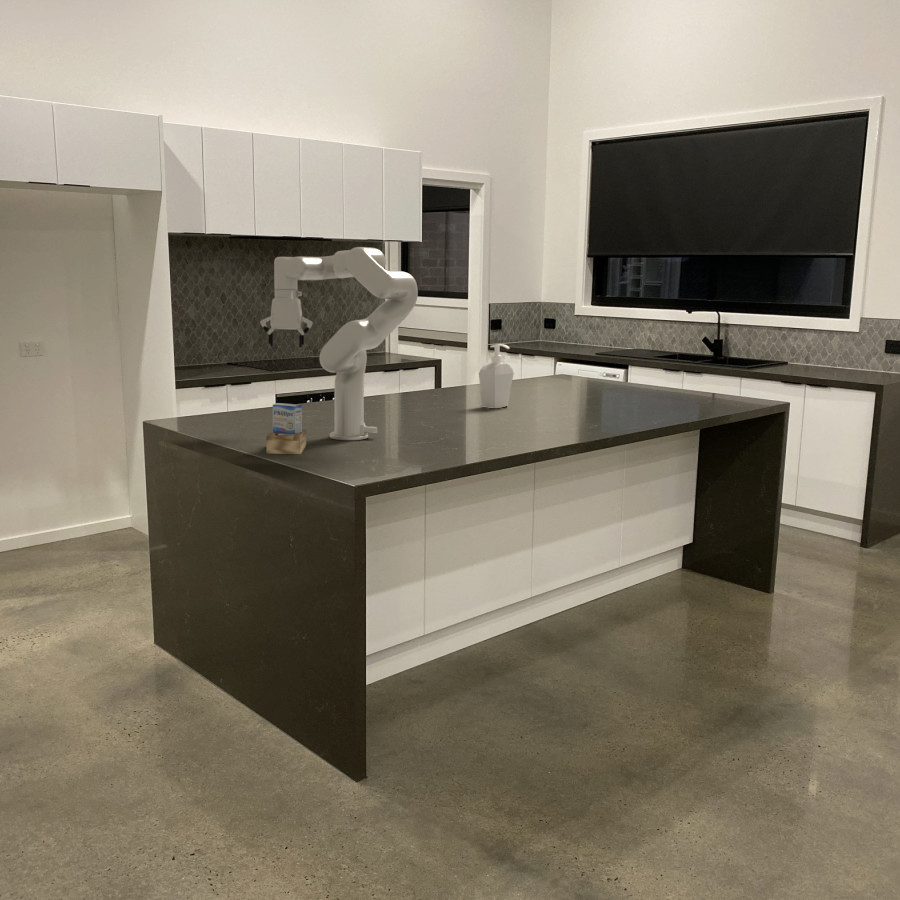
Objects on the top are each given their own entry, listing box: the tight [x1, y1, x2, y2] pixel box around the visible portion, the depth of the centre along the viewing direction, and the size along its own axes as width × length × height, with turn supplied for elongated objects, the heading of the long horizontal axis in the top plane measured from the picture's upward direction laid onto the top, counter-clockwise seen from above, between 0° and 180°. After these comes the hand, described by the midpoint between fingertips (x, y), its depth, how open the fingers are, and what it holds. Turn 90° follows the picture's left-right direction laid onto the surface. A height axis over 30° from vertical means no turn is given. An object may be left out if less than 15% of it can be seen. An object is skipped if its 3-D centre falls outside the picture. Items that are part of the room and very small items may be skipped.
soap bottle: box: [478, 343, 514, 408], centre depth 368 cm, size 12×10×26 cm
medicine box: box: [272, 402, 303, 434], centre depth 275 cm, size 8×4×9 cm, turn 70°
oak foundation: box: [265, 428, 307, 455], centre depth 276 cm, size 10×13×5 cm
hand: (286, 346), depth 304 cm, fingers open, 9 cm apart
